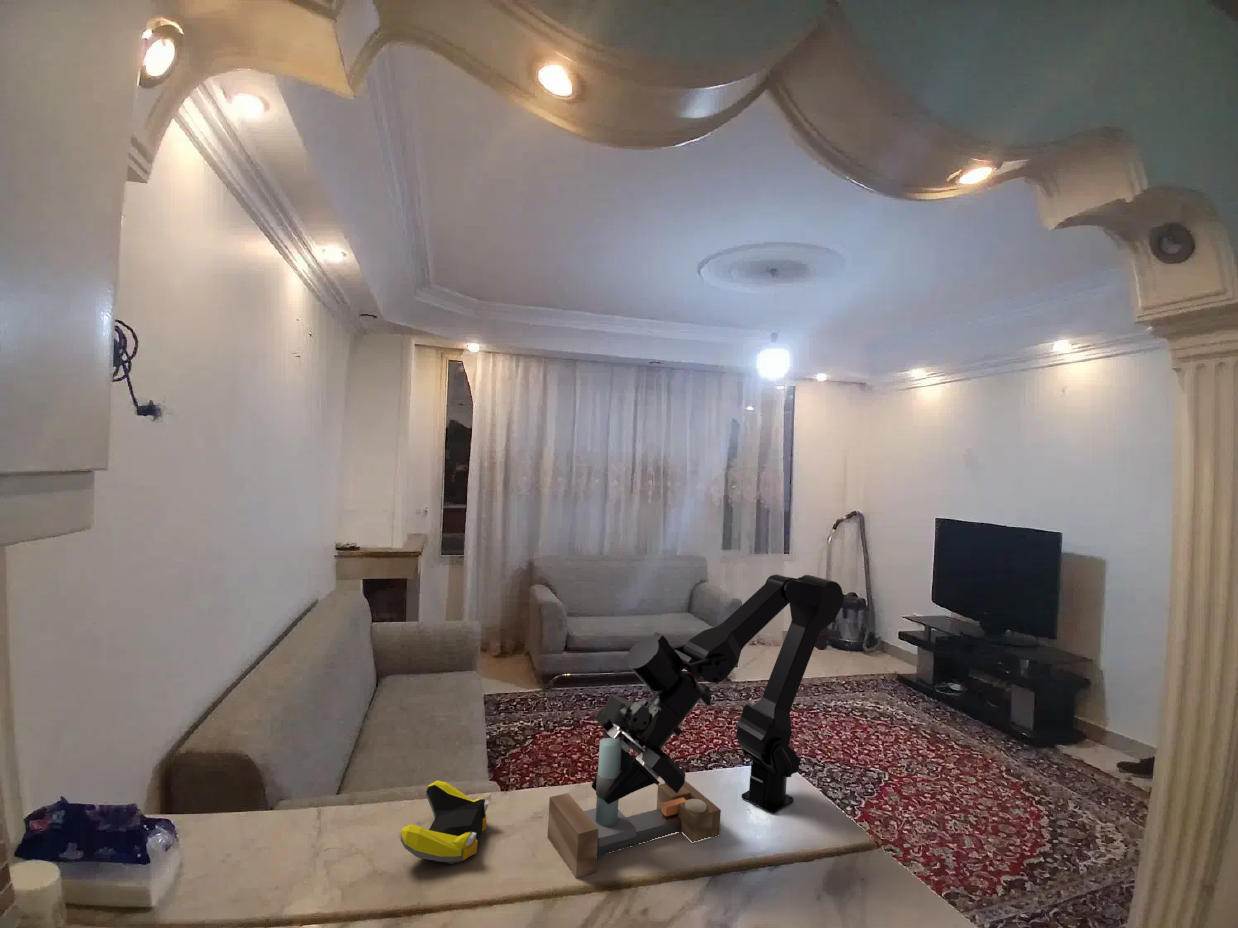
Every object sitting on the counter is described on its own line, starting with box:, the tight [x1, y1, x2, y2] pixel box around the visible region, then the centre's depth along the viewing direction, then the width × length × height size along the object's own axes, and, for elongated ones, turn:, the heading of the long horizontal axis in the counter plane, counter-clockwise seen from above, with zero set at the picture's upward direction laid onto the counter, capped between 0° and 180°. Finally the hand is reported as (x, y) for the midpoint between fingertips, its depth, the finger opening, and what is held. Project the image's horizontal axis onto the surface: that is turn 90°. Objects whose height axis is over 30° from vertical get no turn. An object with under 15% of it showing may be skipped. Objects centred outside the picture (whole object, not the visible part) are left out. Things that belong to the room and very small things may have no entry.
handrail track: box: [597, 808, 682, 857], centre depth 96 cm, size 22×4×2 cm, turn 119°
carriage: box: [583, 737, 636, 847], centre depth 94 cm, size 6×7×13 cm
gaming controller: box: [399, 780, 490, 865], centre depth 93 cm, size 15×6×10 cm
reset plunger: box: [661, 798, 687, 816], centre depth 100 cm, size 4×1×1 cm, turn 119°
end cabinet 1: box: [547, 792, 598, 879], centre depth 91 cm, size 3×10×6 cm, turn 29°
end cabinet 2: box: [656, 780, 722, 842], centre depth 101 cm, size 5×10×4 cm, turn 29°
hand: (599, 795), depth 93 cm, fingers closed on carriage, 3 cm apart
